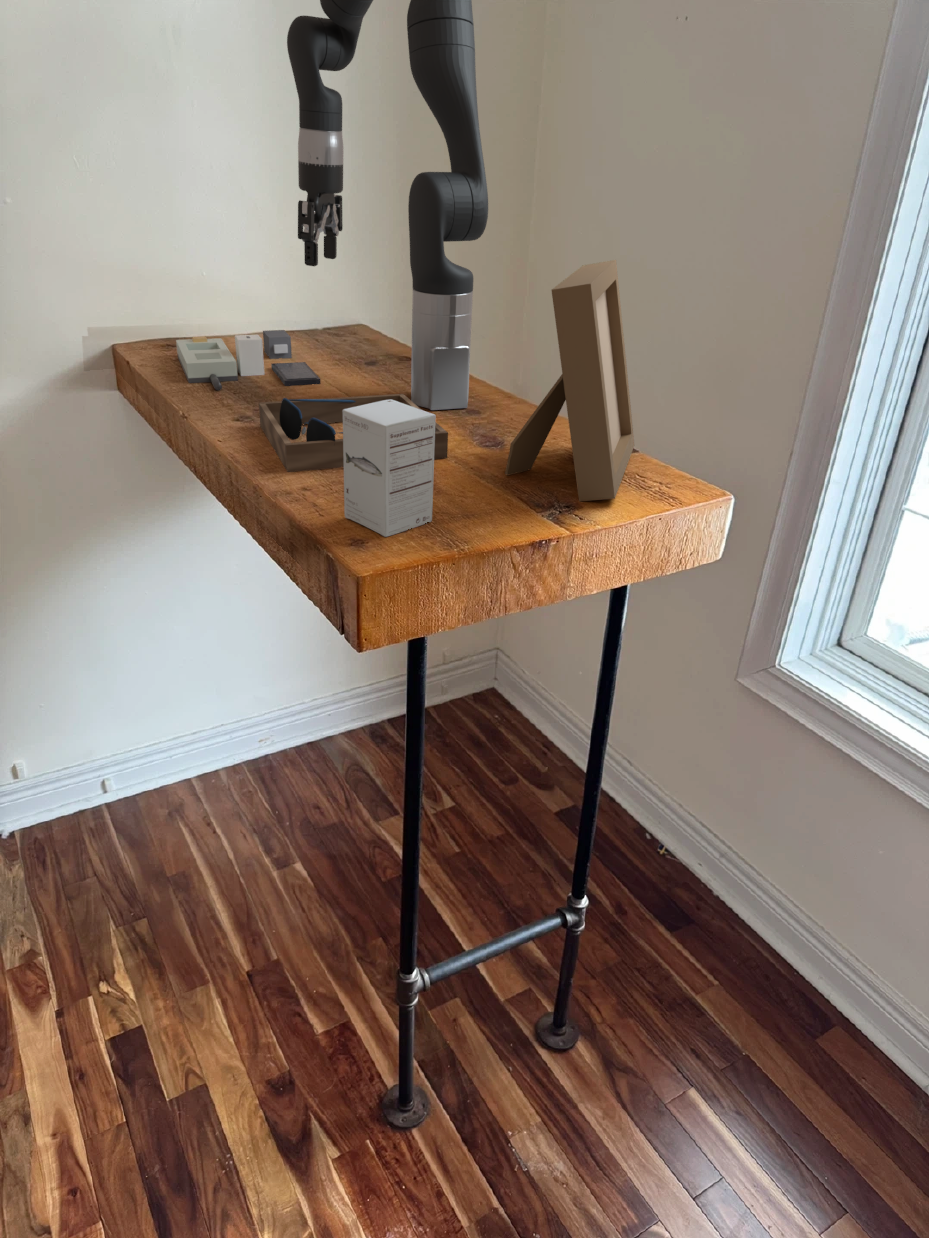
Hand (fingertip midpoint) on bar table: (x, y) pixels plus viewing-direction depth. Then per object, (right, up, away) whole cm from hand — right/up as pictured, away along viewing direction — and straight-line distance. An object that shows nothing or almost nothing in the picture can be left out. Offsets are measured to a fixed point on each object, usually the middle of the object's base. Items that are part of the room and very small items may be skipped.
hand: (320, 262), depth 157 cm
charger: (-12, -21, -3) cm, 24 cm away
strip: (-19, -21, -5) cm, 28 cm away
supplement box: (+17, -53, -57) cm, 80 cm away
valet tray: (+10, -39, -34) cm, 52 cm away
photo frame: (+39, -44, -40) cm, 71 cm away
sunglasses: (+10, -39, -34) cm, 52 cm away
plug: (-10, -14, +9) cm, 19 cm away
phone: (-4, -22, -4) cm, 22 cm away
